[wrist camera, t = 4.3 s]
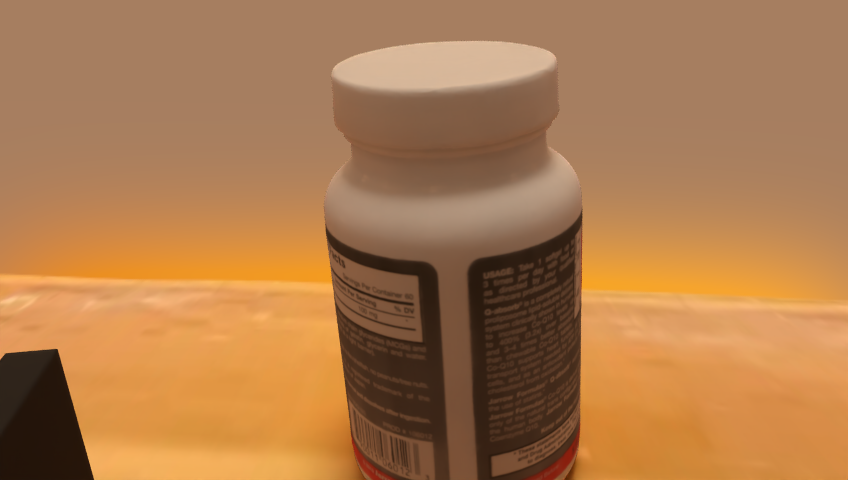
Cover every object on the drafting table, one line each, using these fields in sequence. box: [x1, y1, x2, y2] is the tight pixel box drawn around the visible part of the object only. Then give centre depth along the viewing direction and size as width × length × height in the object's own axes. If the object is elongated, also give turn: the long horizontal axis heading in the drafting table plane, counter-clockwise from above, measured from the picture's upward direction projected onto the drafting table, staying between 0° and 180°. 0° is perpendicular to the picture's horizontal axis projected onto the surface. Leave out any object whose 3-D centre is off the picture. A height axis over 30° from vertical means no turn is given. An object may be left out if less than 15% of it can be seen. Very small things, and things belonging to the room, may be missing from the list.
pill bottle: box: [324, 41, 582, 480], centre depth 18 cm, size 6×6×10 cm
